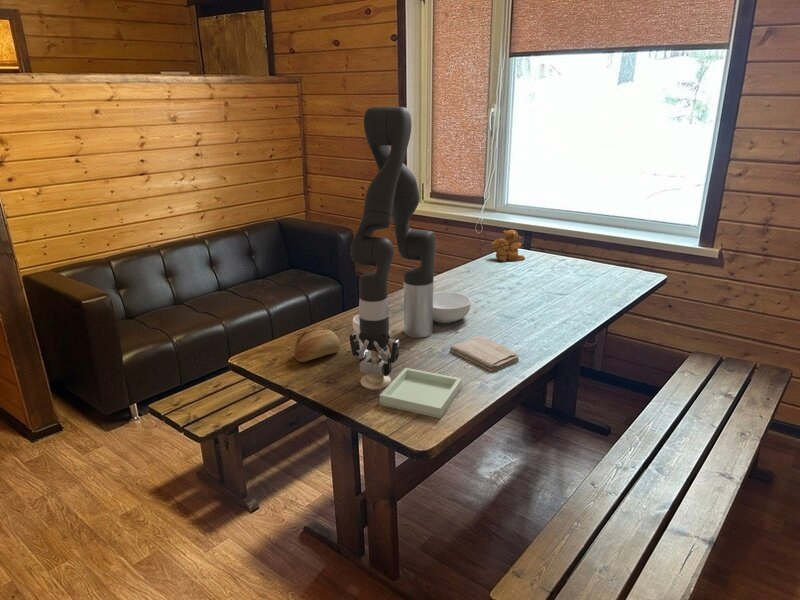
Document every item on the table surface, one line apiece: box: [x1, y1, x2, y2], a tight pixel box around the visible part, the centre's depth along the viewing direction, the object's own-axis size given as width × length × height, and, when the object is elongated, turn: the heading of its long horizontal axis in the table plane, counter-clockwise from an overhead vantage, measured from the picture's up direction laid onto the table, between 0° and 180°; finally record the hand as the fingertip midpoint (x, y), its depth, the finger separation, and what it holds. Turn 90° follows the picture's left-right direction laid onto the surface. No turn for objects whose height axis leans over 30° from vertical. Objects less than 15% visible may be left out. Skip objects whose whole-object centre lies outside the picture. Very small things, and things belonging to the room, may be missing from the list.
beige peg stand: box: [360, 351, 392, 391], centre depth 153 cm, size 8×8×12 cm
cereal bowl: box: [433, 291, 472, 324], centre depth 195 cm, size 17×17×7 cm
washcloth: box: [449, 335, 520, 372], centre depth 169 cm, size 12×18×3 cm, turn 40°
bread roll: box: [294, 327, 342, 363], centre depth 169 cm, size 10×15×8 cm, turn 134°
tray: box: [379, 367, 463, 419], centre depth 147 cm, size 16×16×3 cm
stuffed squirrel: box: [491, 229, 526, 263], centre depth 258 cm, size 10×14×13 cm
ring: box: [359, 354, 384, 376], centre depth 153 cm, size 6×6×2 cm
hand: (375, 372), depth 154 cm, fingers closed on ring, 6 cm apart
